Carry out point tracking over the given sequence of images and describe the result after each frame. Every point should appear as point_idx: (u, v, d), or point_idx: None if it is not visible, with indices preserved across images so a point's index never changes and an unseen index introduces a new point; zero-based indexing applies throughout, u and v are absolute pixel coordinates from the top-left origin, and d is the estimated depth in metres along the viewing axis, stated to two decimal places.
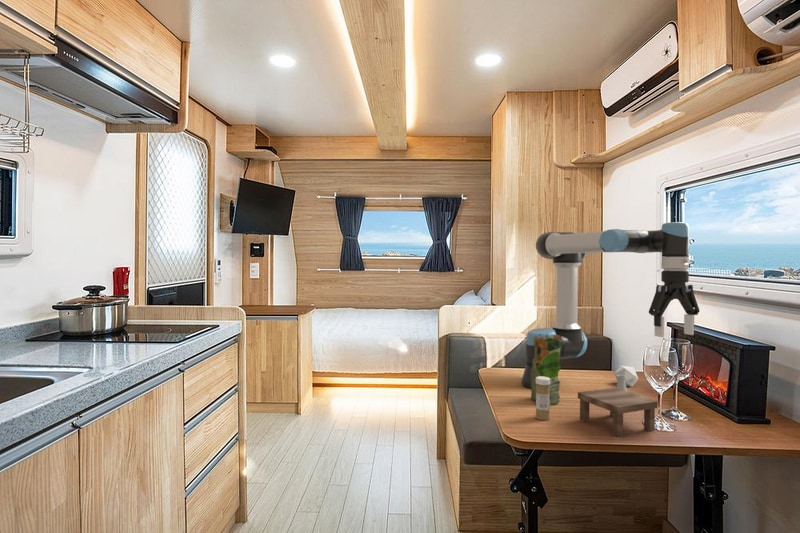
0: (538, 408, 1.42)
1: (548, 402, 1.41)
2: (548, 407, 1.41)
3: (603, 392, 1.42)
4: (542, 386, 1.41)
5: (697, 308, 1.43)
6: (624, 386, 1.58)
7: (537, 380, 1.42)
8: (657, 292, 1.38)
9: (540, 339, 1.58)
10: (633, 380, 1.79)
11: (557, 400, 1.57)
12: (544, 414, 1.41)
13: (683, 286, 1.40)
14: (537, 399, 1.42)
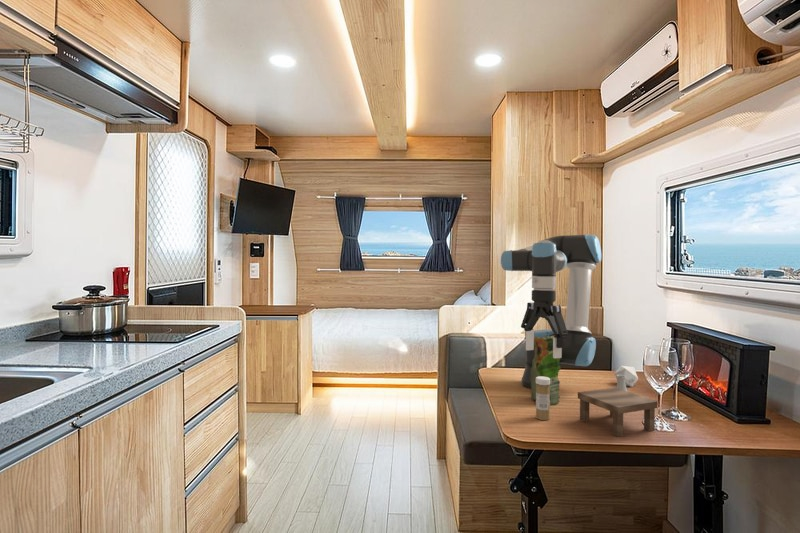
0: (538, 408, 1.42)
1: (548, 402, 1.41)
2: (548, 407, 1.41)
3: (603, 392, 1.42)
4: (542, 386, 1.41)
5: (559, 331, 1.34)
6: (624, 386, 1.58)
7: (537, 380, 1.42)
8: None
9: (540, 339, 1.58)
10: (633, 380, 1.79)
11: (557, 400, 1.57)
12: (544, 414, 1.41)
13: (545, 306, 1.40)
14: (537, 399, 1.42)
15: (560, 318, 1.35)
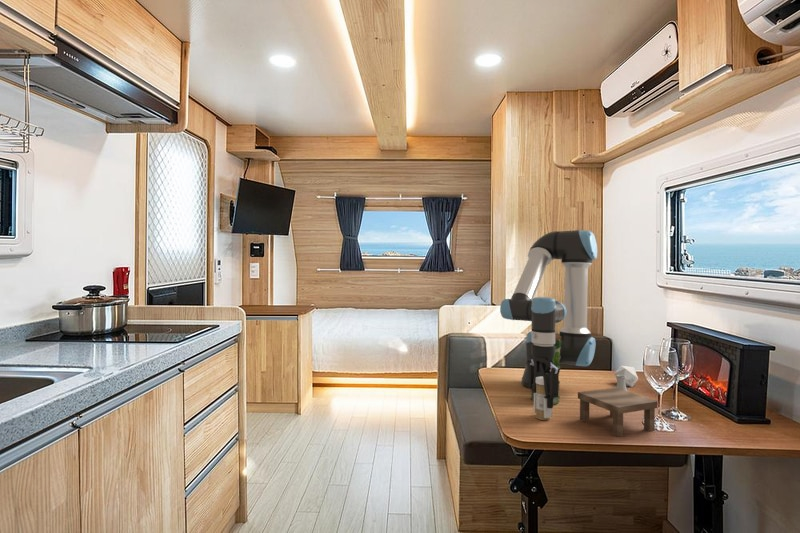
0: (538, 408, 1.42)
1: None
2: None
3: (603, 392, 1.42)
4: (542, 386, 1.41)
5: (550, 393, 1.38)
6: (624, 386, 1.58)
7: (537, 380, 1.42)
8: None
9: None
10: (633, 380, 1.79)
11: (557, 400, 1.57)
12: None
13: (546, 361, 1.40)
14: (537, 399, 1.42)
15: (555, 380, 1.37)
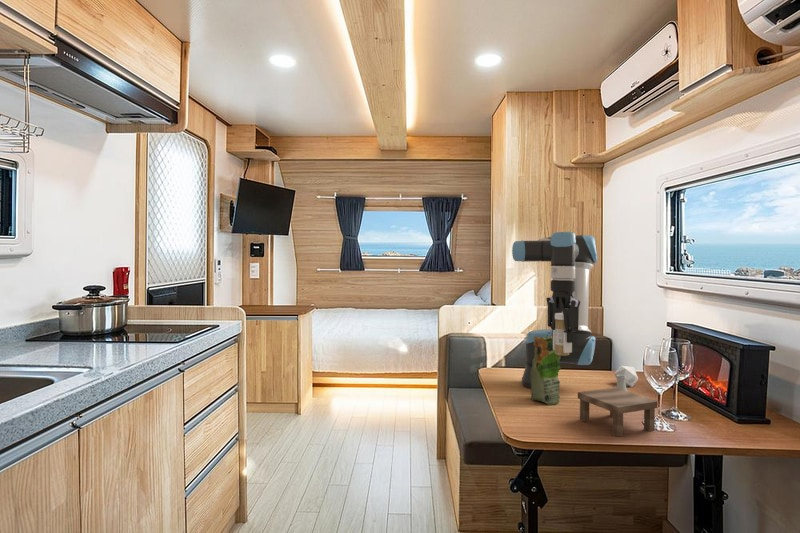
0: (557, 344, 1.40)
1: None
2: None
3: (603, 392, 1.42)
4: (561, 321, 1.39)
5: (570, 326, 1.36)
6: (624, 386, 1.58)
7: (556, 315, 1.40)
8: None
9: (540, 339, 1.58)
10: (633, 380, 1.79)
11: (557, 400, 1.57)
12: None
13: (565, 295, 1.38)
14: (556, 335, 1.41)
15: (575, 313, 1.36)
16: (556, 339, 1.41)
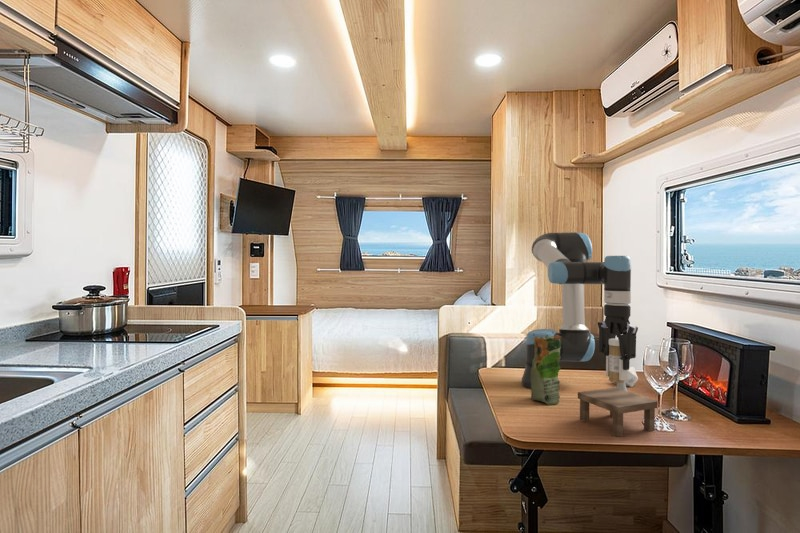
0: (612, 370, 1.36)
1: None
2: None
3: (603, 392, 1.42)
4: (617, 347, 1.35)
5: (628, 353, 1.32)
6: (624, 386, 1.58)
7: (611, 341, 1.36)
8: None
9: (540, 339, 1.58)
10: (633, 380, 1.79)
11: (557, 400, 1.57)
12: None
13: (621, 321, 1.34)
14: (611, 361, 1.36)
15: (633, 340, 1.32)
16: (611, 366, 1.36)
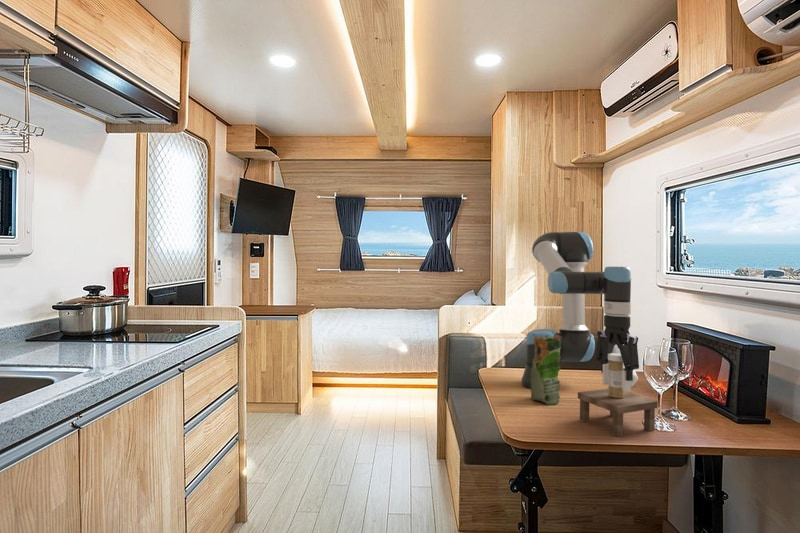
0: (612, 386, 1.36)
1: None
2: None
3: (603, 392, 1.42)
4: (616, 362, 1.36)
5: (631, 364, 1.31)
6: None
7: (610, 356, 1.37)
8: None
9: (540, 339, 1.58)
10: (633, 380, 1.79)
11: (557, 400, 1.57)
12: (619, 392, 1.35)
13: (621, 332, 1.34)
14: (610, 376, 1.37)
15: (635, 350, 1.31)
16: (610, 381, 1.37)
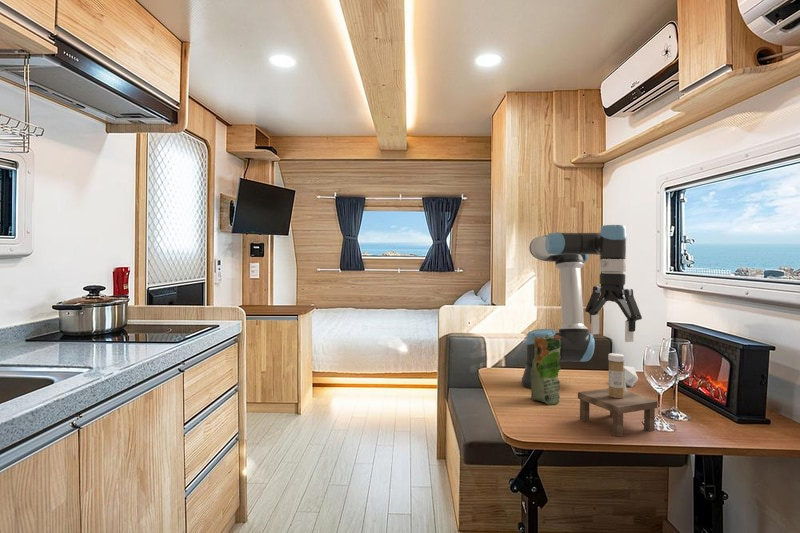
0: (612, 386, 1.36)
1: (623, 380, 1.36)
2: (623, 385, 1.36)
3: (603, 392, 1.42)
4: (616, 363, 1.35)
5: (633, 315, 1.32)
6: (624, 386, 1.58)
7: (611, 357, 1.36)
8: None
9: (540, 339, 1.58)
10: (633, 380, 1.79)
11: (557, 400, 1.57)
12: (619, 392, 1.35)
13: (616, 289, 1.38)
14: (611, 376, 1.37)
15: (633, 301, 1.33)
16: (610, 381, 1.37)
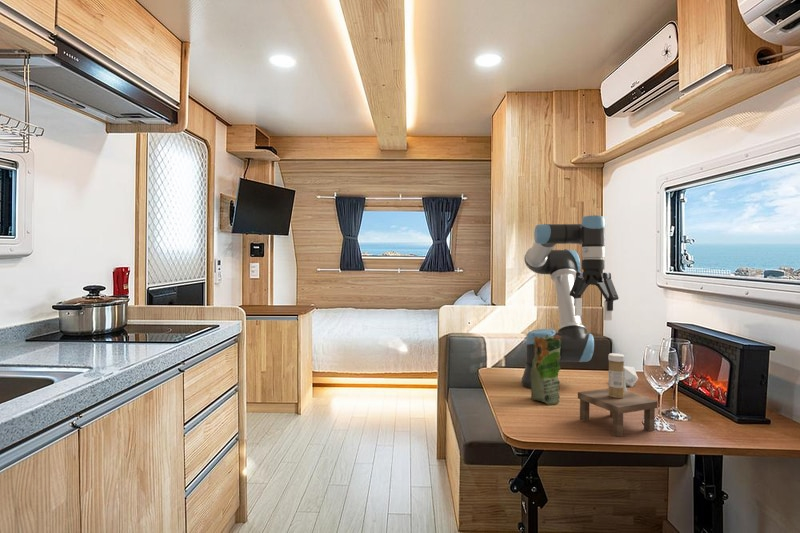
0: (612, 386, 1.36)
1: (623, 380, 1.36)
2: (623, 385, 1.36)
3: (603, 392, 1.42)
4: (616, 363, 1.35)
5: (610, 295, 1.47)
6: (624, 386, 1.58)
7: (611, 357, 1.36)
8: None
9: (540, 339, 1.58)
10: (633, 380, 1.79)
11: (557, 400, 1.57)
12: (619, 392, 1.35)
13: (595, 273, 1.53)
14: (611, 376, 1.36)
15: (610, 284, 1.48)
16: (610, 381, 1.37)
